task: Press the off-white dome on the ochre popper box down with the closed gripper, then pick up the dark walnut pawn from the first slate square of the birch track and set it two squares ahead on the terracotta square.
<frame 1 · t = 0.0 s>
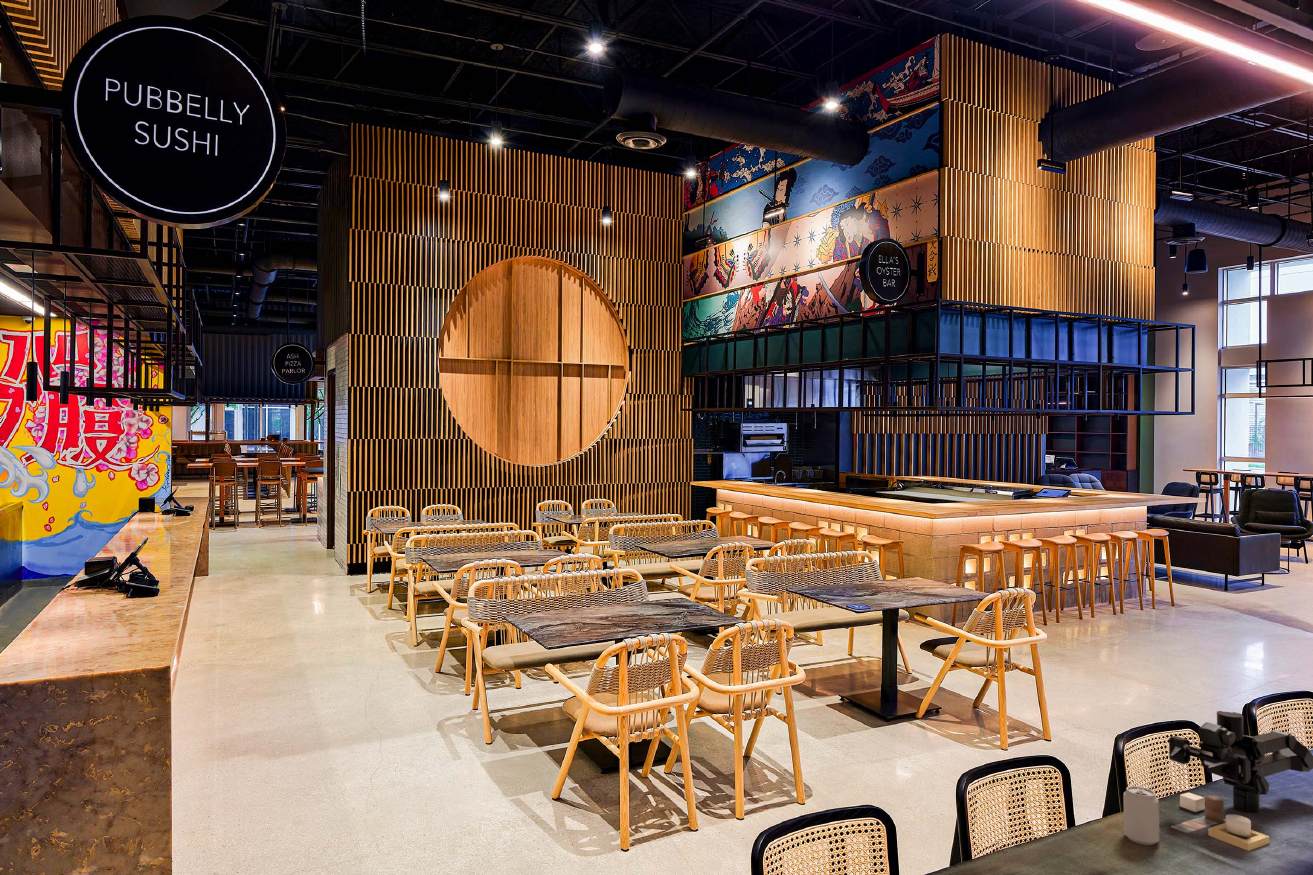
hand: (1188, 763, 204), 17 cm above the table, tool horizontal, fingers open, 9 cm apart
popper box: (1238, 842, 196), on the table
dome: (1238, 824, 197), point 4 cm above the table, slide at 0.0 cm
track: (1199, 826, 205), on the table
can: (1141, 840, 198), on the table
die: (1192, 811, 215), on the table
pawn: (1214, 818, 208), point 1 cm above the table, touching track
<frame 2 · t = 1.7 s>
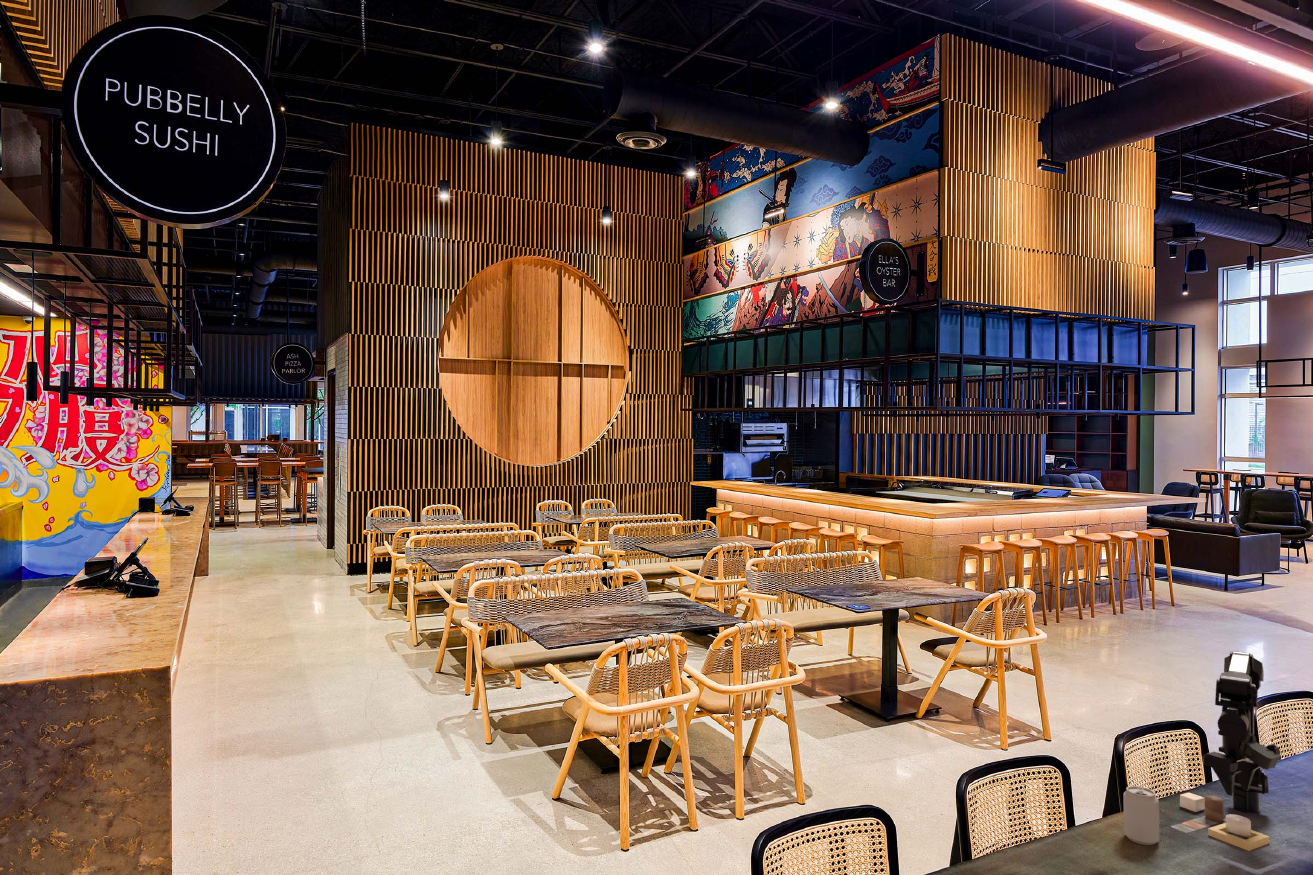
hand: (1237, 792, 197), 12 cm above the table, tool pointing down, fingers open, 6 cm apart
nothing on the table moved.
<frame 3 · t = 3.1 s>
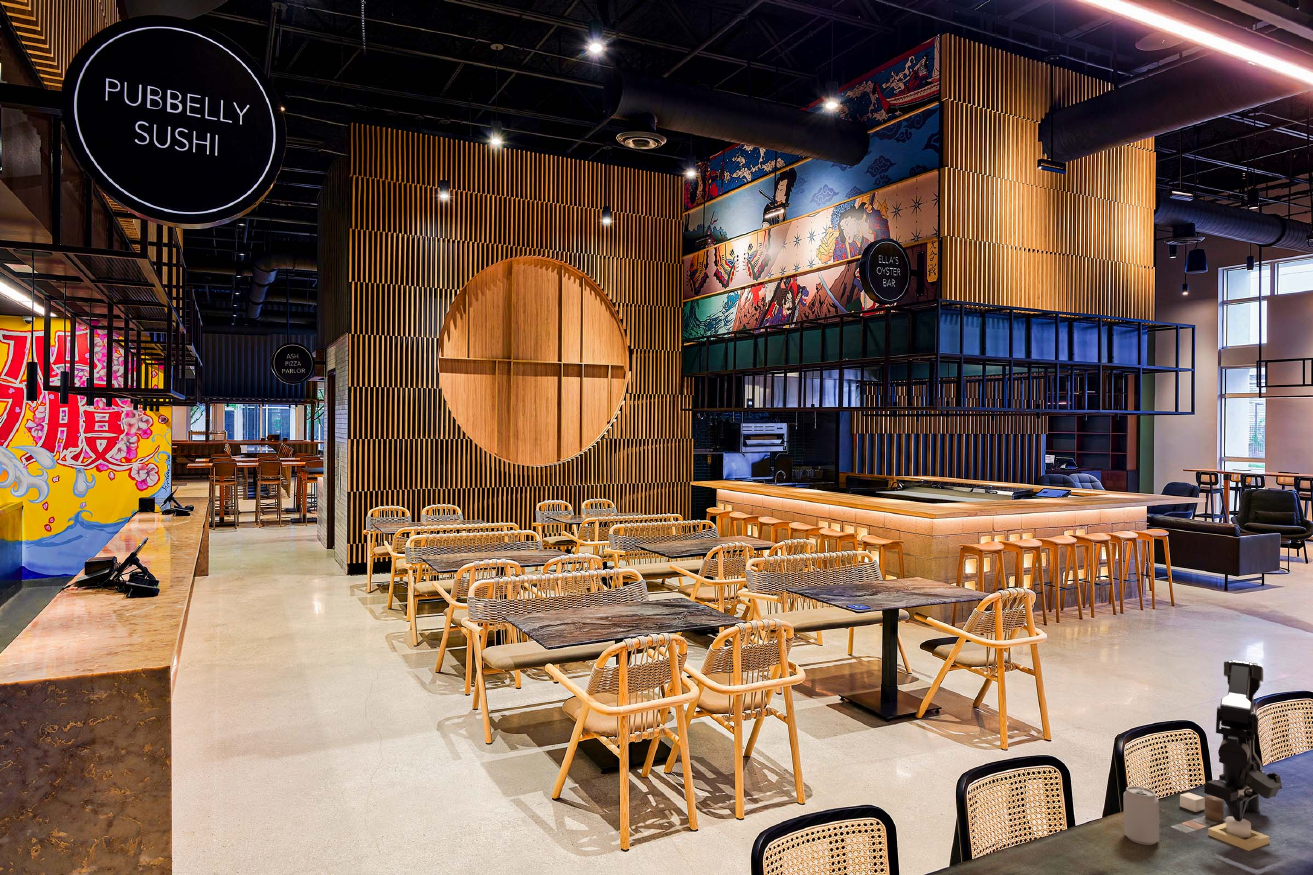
hand: (1238, 820, 197), 5 cm above the table, tool pointing down, fingers closed, pressing on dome
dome: (1238, 826, 196), point 4 cm above the table, slide at 0.5 cm, touching gripper
everything else where it was.
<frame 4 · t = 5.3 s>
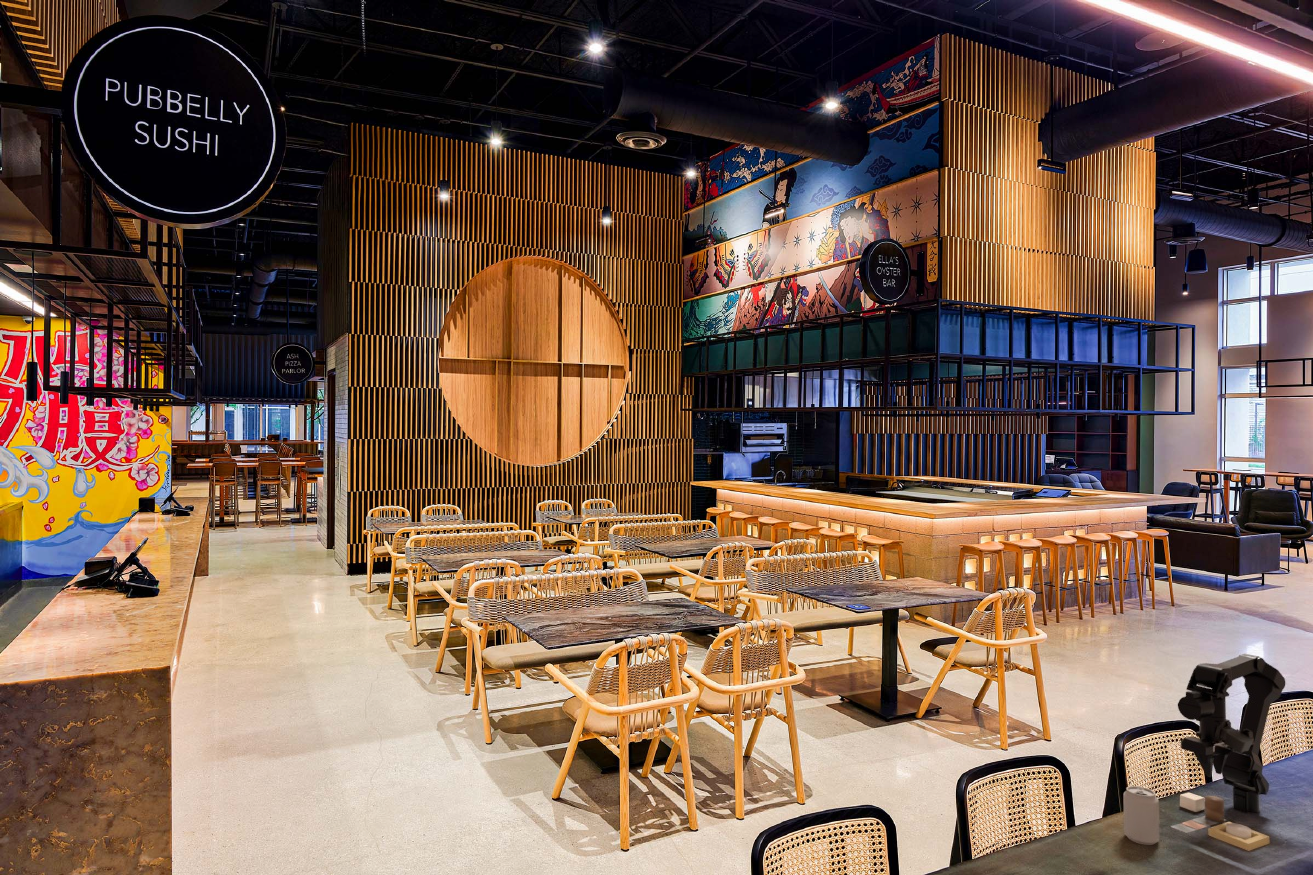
hand: (1213, 774, 209), 12 cm above the table, tool pointing down, fingers open, 4 cm apart
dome: (1238, 833, 196), point 2 cm above the table, slide at 2.1 cm
everything else where it was.
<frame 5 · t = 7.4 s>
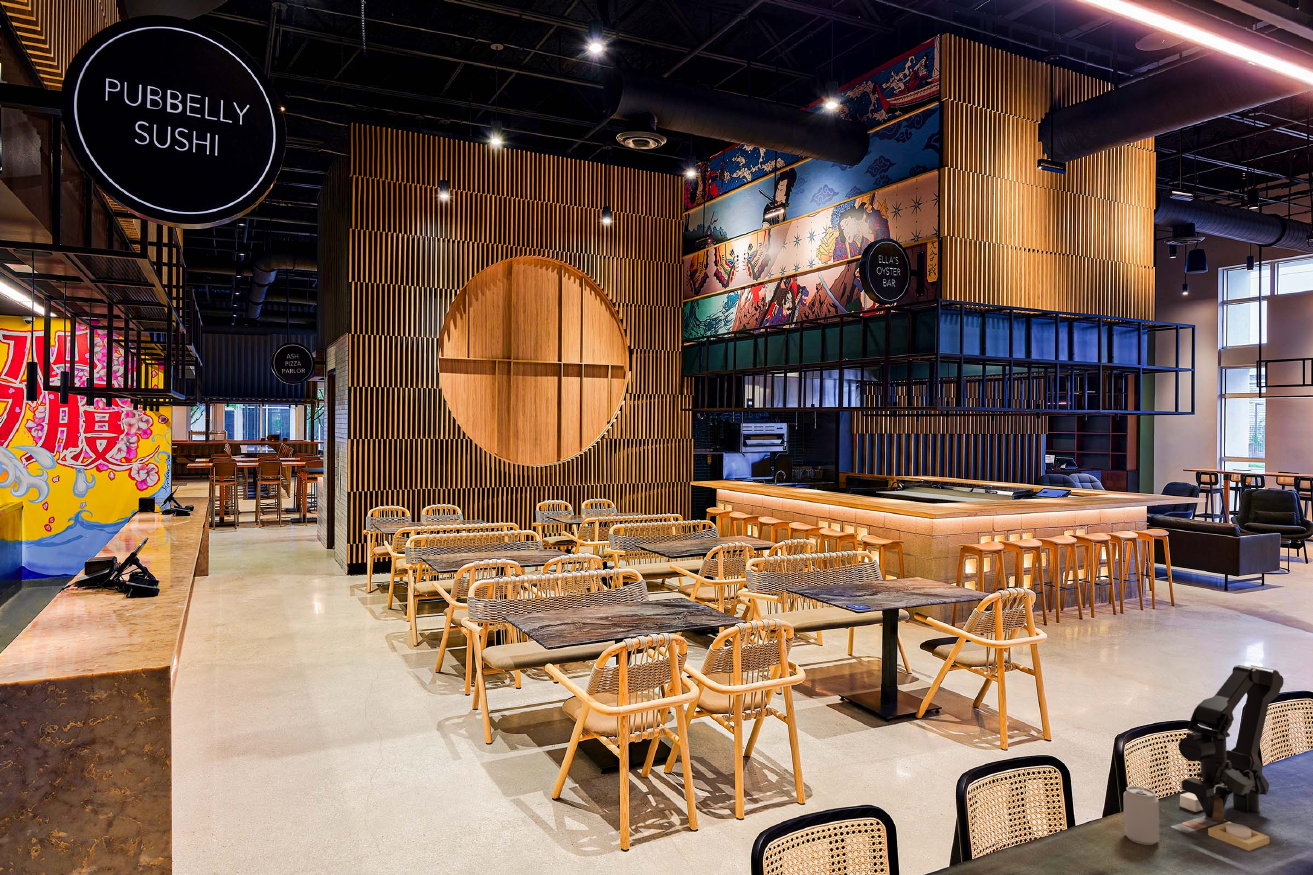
hand: (1214, 815, 208), 2 cm above the table, tool pointing down, fingers closed on pawn, 4 cm apart
pawn: (1214, 817, 208), point 1 cm above the table, touching gripper, track
everything else where it was.
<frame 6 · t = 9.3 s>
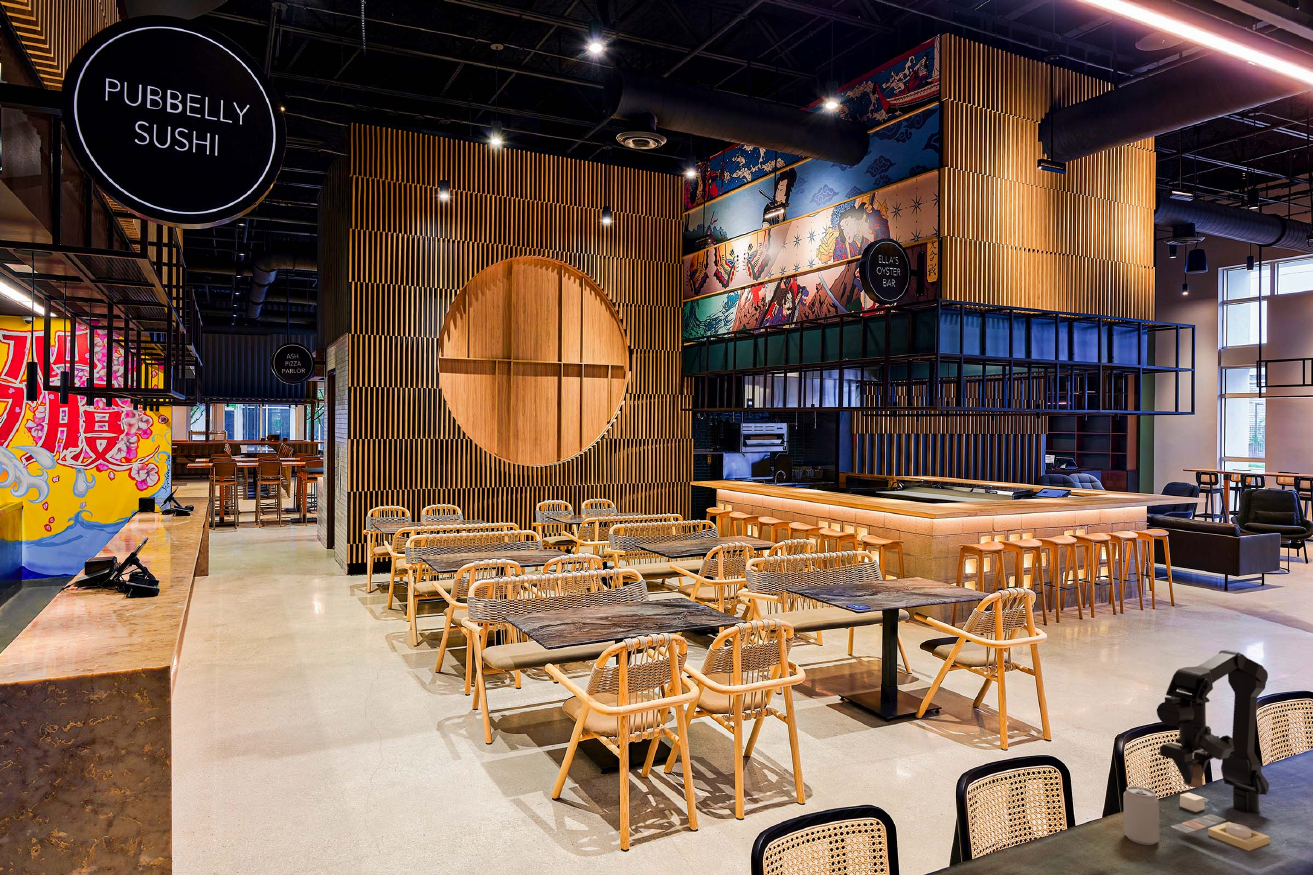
hand: (1193, 782, 205), 12 cm above the table, tool pointing down, fingers closed on pawn, 4 cm apart
pawn: (1193, 784, 205), point 11 cm above the table, touching gripper
everything else where it was.
when the fingers open (3 cm above the table, at t = 11.2 s): pawn drops 1 cm, resting on track.
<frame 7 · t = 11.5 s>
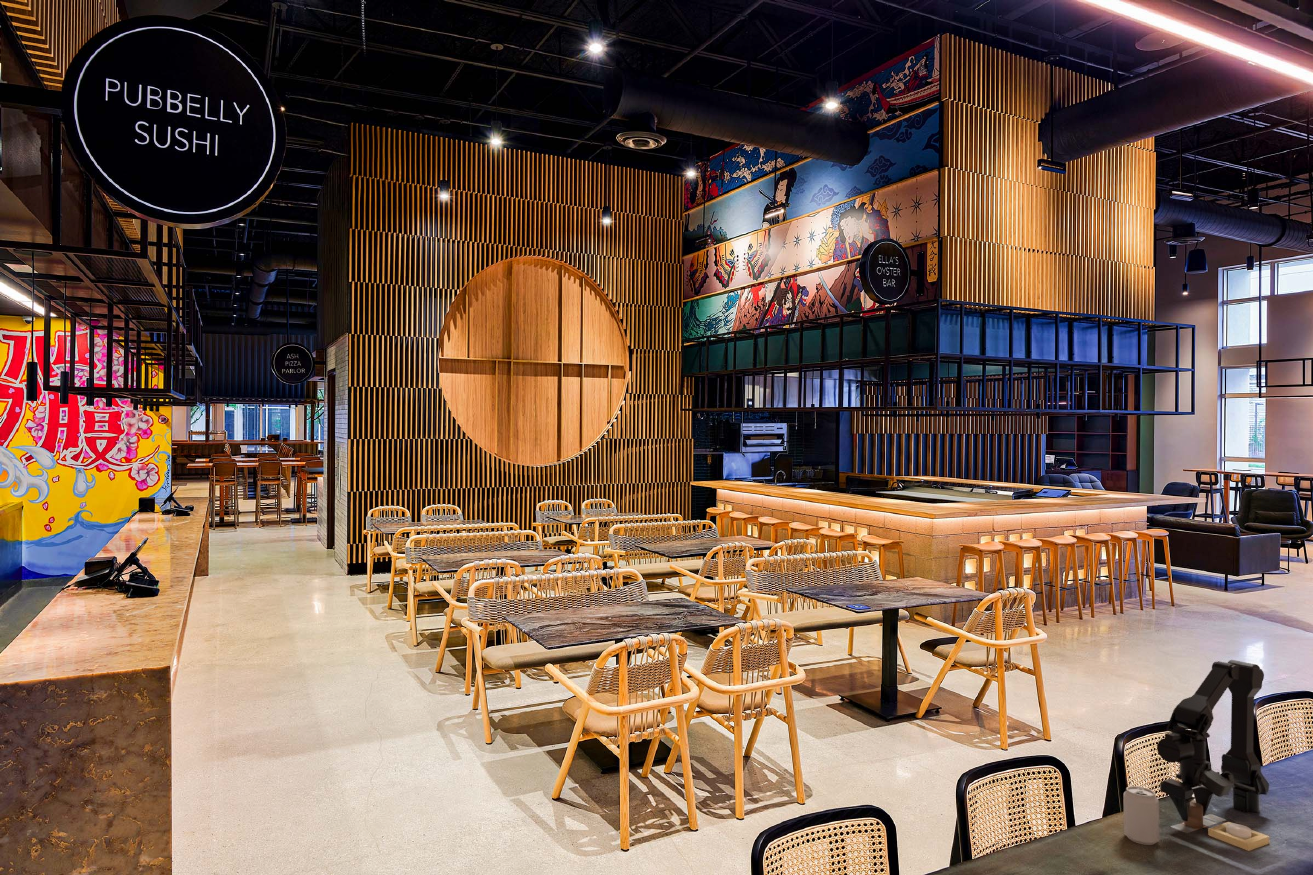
hand: (1193, 817, 204), 3 cm above the table, tool pointing down, fingers open, 7 cm apart
pawn: (1193, 824, 204), point 1 cm above the table, touching track
everything else where it was.
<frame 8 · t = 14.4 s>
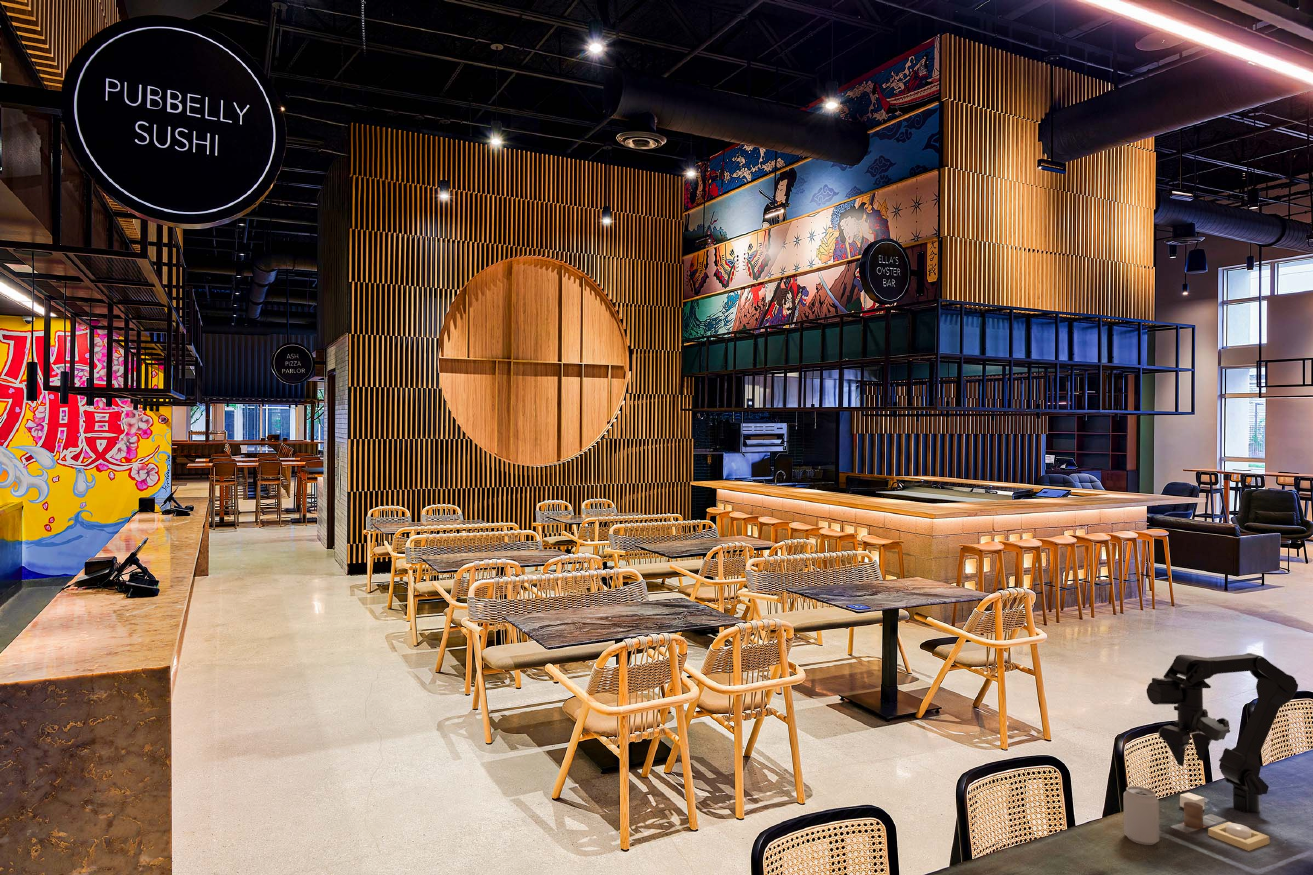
hand: (1191, 762, 214), 13 cm above the table, tool pointing down, fingers open, 9 cm apart
nothing on the table moved.
at the end: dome slide at 2.1 cm; pawn 0.1 cm from the target spot, point 0.9 cm above the table; pawn tilted 0° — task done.
